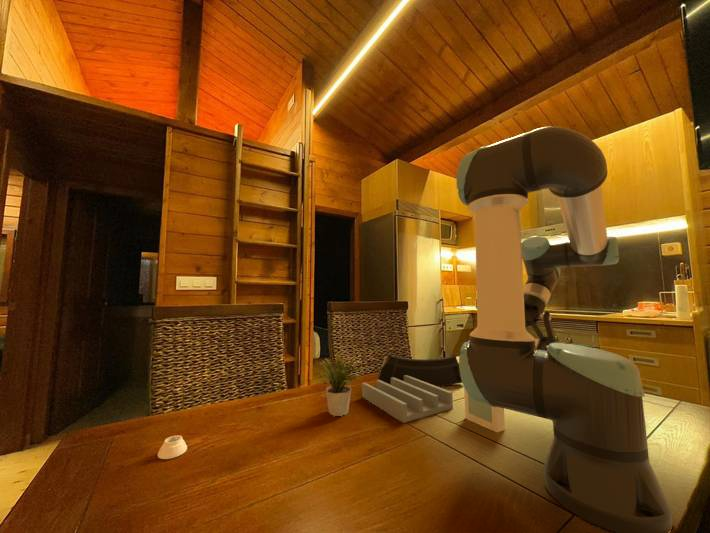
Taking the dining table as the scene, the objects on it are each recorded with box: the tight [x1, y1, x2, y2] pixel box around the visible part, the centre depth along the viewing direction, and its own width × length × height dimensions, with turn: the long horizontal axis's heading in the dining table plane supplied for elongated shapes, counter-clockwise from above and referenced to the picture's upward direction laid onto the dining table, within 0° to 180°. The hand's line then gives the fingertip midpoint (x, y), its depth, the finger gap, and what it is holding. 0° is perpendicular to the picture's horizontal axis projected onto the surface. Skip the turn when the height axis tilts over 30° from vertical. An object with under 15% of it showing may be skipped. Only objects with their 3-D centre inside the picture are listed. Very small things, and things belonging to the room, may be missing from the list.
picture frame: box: [463, 387, 506, 433], centre depth 72 cm, size 3×9×12 cm, turn 30°
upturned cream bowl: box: [157, 434, 188, 460], centre depth 58 cm, size 5×3×5 cm
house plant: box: [318, 350, 366, 417], centre depth 77 cm, size 14×14×16 cm
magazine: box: [377, 353, 463, 387], centre depth 101 cm, size 17×3×30 cm
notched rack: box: [361, 375, 454, 424], centre depth 85 cm, size 18×20×4 cm
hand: (505, 357), depth 78 cm, fingers open, 13 cm apart
